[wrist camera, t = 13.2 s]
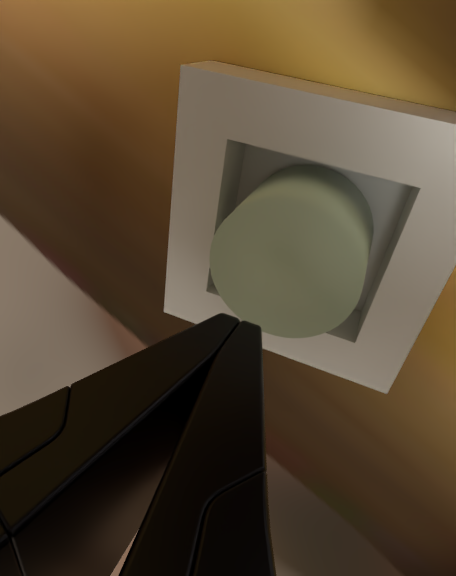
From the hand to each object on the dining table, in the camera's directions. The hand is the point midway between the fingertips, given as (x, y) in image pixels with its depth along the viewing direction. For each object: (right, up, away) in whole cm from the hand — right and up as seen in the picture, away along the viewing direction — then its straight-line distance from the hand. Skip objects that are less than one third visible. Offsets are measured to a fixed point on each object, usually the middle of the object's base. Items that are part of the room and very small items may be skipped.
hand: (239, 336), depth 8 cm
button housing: (+2, +3, +5) cm, 7 cm away
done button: (+2, +3, +5) cm, 6 cm away
